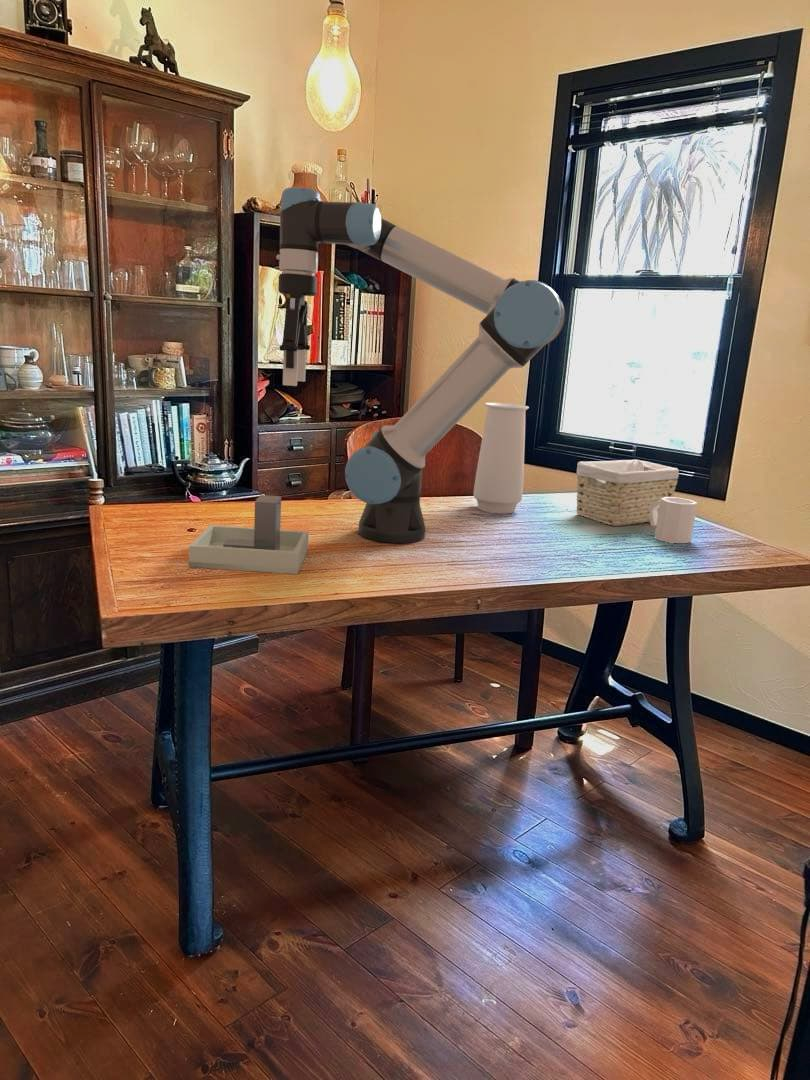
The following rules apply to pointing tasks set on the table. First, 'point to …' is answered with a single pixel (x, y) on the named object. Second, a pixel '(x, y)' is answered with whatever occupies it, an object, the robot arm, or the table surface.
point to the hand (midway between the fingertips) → (294, 383)
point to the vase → (501, 459)
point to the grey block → (263, 525)
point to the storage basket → (622, 489)
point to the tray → (247, 551)
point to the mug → (673, 519)
